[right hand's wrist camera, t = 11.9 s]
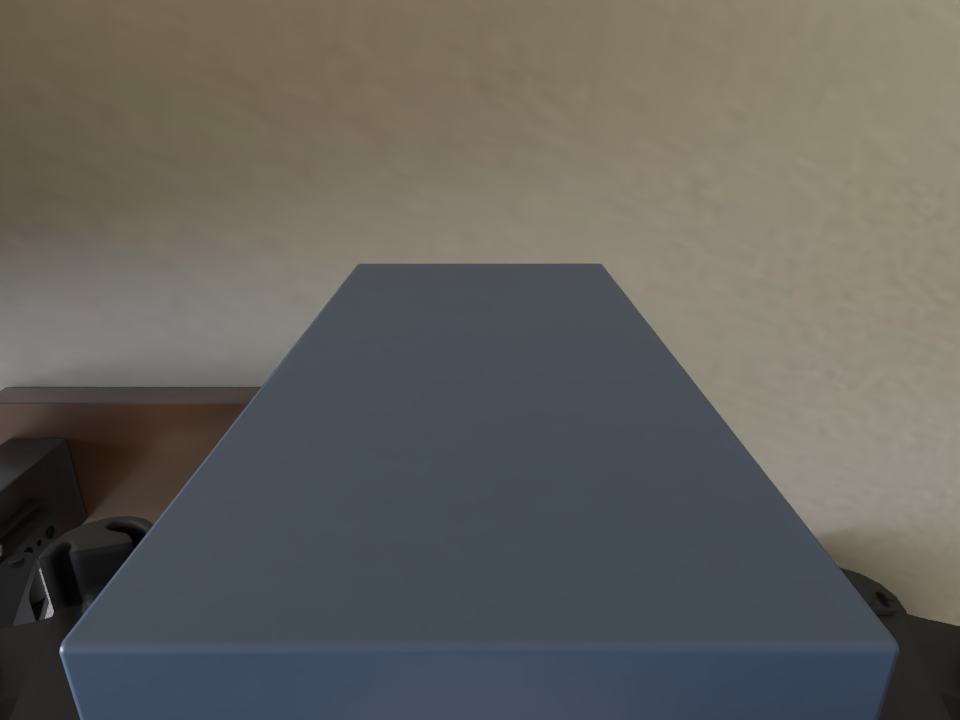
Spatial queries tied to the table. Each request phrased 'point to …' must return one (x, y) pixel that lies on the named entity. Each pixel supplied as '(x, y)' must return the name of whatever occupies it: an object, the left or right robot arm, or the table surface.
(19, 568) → the left robot arm
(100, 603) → the slate block
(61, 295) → the table surface
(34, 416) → the walnut caddy
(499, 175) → the table surface
